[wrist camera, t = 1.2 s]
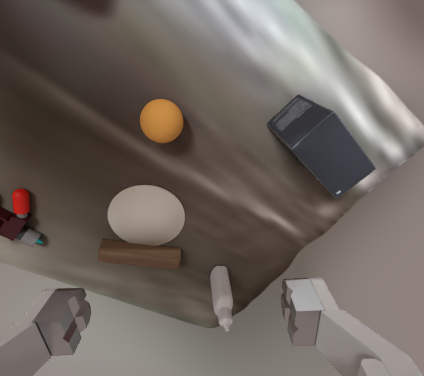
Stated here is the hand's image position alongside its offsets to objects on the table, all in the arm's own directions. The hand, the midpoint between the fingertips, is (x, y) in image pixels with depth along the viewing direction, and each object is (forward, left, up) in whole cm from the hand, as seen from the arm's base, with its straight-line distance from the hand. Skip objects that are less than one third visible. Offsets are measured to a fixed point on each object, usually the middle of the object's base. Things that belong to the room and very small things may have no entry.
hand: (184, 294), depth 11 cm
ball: (+1, -3, -28) cm, 28 cm away
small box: (-1, +18, -31) cm, 36 cm away
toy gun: (+22, -23, -31) cm, 44 cm away
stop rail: (+27, -3, -30) cm, 41 cm away
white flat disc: (+19, -3, -30) cm, 36 cm away
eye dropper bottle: (+31, +13, -31) cm, 46 cm away
